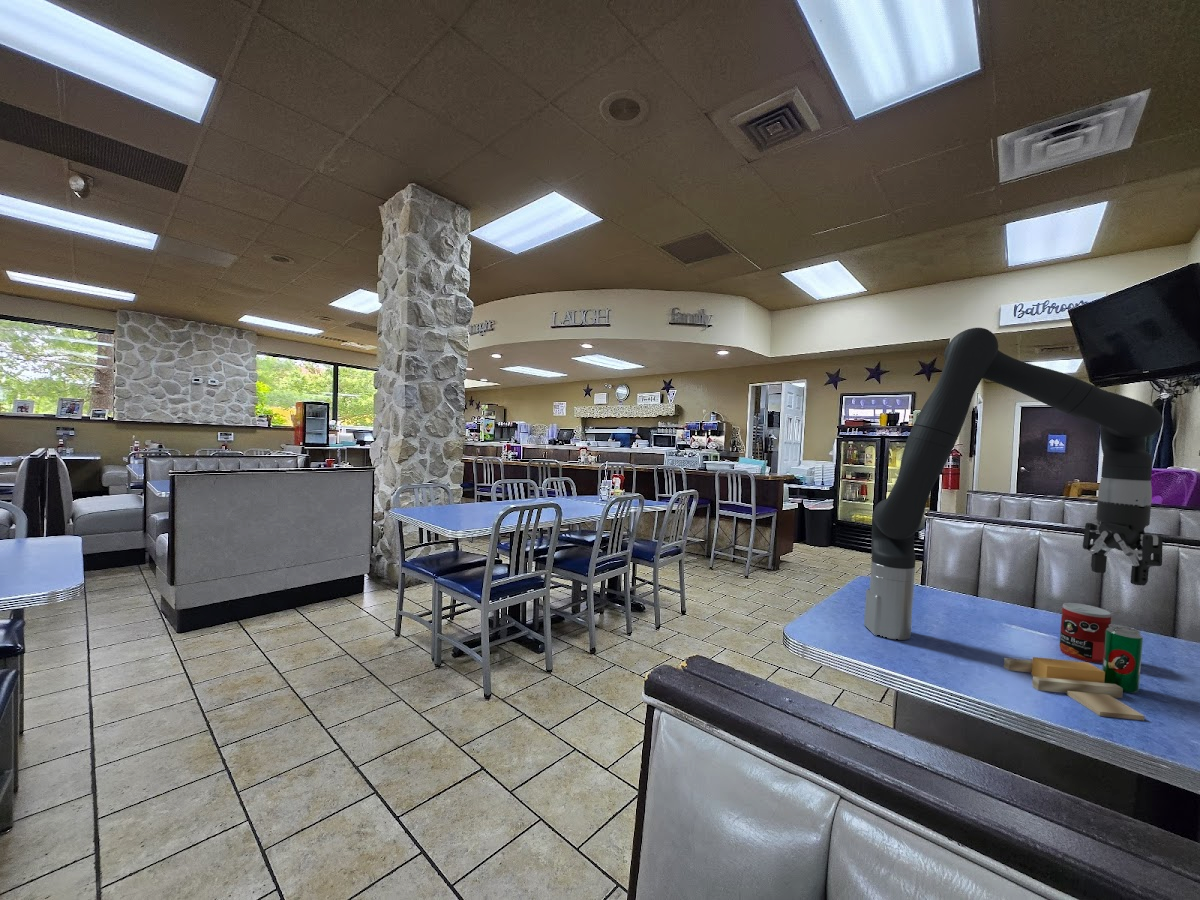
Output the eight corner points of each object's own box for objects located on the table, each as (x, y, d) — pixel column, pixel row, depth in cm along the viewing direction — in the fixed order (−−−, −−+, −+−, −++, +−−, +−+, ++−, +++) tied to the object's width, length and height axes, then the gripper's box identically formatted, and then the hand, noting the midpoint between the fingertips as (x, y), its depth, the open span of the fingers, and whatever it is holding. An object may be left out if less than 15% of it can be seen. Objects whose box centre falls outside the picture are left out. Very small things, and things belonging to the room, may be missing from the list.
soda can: (1146, 695, 94) (1151, 635, 93) (1115, 692, 95) (1120, 631, 94) (1123, 682, 98) (1128, 624, 98) (1094, 679, 100) (1098, 622, 99)
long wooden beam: (1045, 685, 97) (1047, 666, 96) (1031, 675, 101) (1032, 657, 100) (1103, 691, 95) (1105, 672, 95) (1086, 681, 99) (1088, 662, 99)
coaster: (1099, 715, 86) (1100, 711, 86) (1067, 694, 93) (1067, 690, 93) (1144, 720, 85) (1144, 715, 85) (1108, 698, 92) (1108, 694, 92)
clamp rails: (1038, 690, 94) (1038, 680, 94) (1003, 666, 104) (1004, 657, 103) (1122, 698, 92) (1122, 688, 92) (1079, 673, 102) (1080, 664, 102)
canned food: (1049, 648, 114) (1053, 602, 114) (1080, 648, 115) (1084, 602, 114) (1085, 663, 107) (1088, 614, 106) (1117, 663, 107) (1121, 614, 107)
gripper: (1073, 495, 107) (1068, 567, 108) (1138, 505, 93) (1131, 588, 94) (1110, 497, 107) (1105, 570, 107) (1181, 507, 93) (1174, 590, 93)
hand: (1117, 578), depth 101 cm, fingers open, 8 cm apart
